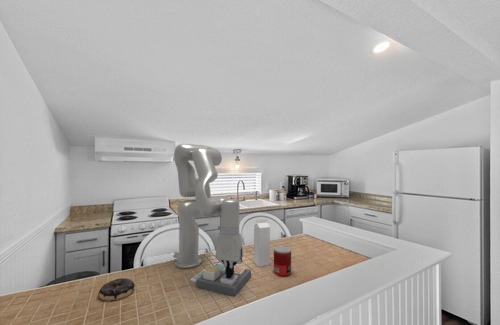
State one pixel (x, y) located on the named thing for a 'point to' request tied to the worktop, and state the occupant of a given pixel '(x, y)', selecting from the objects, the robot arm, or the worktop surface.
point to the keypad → (223, 288)
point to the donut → (116, 289)
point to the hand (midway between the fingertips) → (229, 276)
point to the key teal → (221, 268)
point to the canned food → (282, 261)
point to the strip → (197, 276)
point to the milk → (262, 243)
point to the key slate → (229, 280)
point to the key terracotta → (239, 271)
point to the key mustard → (211, 273)
